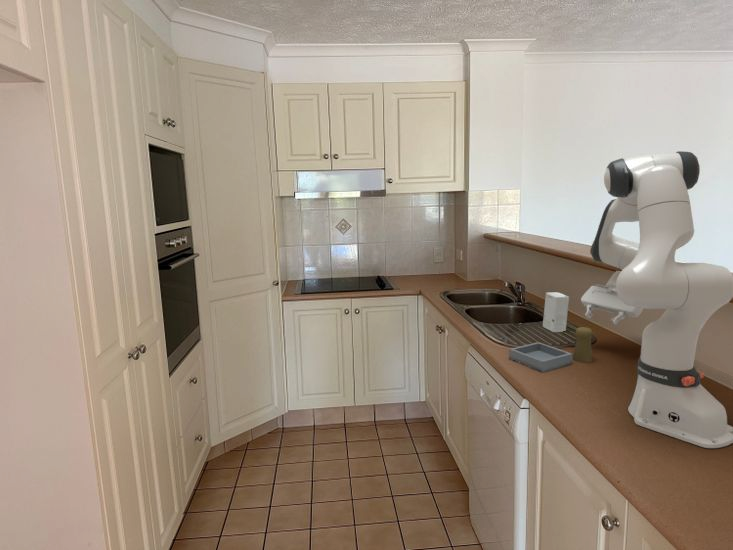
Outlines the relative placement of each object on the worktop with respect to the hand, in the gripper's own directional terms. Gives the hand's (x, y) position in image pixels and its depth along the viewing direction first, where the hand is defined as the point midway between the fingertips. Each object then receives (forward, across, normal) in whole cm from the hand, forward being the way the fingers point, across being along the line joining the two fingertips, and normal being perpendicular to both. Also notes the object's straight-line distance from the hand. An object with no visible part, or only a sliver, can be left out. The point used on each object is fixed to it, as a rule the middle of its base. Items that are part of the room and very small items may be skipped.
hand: (599, 320), depth 158 cm
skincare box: (0, -28, +18) cm, 33 cm away
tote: (+24, -6, -6) cm, 25 cm away
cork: (+14, 0, +4) cm, 15 cm away
